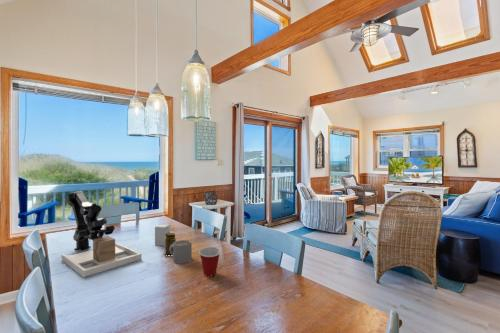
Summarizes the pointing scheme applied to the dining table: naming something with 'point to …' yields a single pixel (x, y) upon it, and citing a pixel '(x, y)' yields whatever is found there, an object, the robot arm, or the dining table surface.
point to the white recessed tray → (89, 266)
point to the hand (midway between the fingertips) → (100, 244)
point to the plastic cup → (209, 260)
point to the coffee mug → (181, 251)
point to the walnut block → (103, 249)
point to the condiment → (169, 243)
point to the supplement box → (161, 234)
